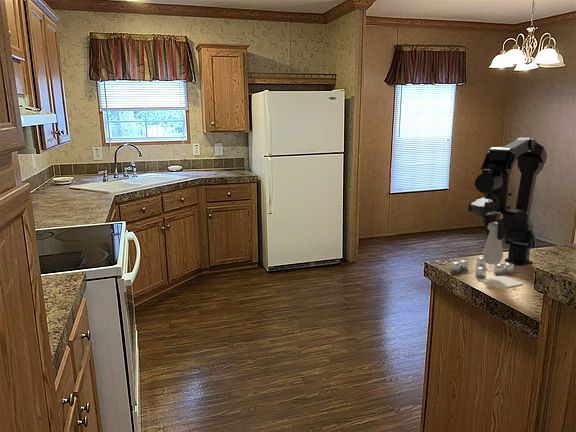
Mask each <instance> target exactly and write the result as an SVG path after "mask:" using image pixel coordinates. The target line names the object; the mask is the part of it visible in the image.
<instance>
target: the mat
mask: <svg viewBox="0 0 576 432" xmlns="http://www.w3.org/2000/svg"><path fill="white" fill-rule="evenodd" d="M479 281H480V282H482V283H484V284H487V285H488V286H489V285H490V286H491V287H494V288H497V289H498V290H503V289H504V290H505V289H508V288H514V287H518V286H522V285H524V283H523V282H520V281H519V280H515V279H513V278H510V277H508V276H505V275H504V274H503V275H497V276H492V277H486V278H483V279H482V278H479Z"/></svg>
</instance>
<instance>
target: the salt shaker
mask: <svg viewBox="0 0 576 432" xmlns="http://www.w3.org/2000/svg"><path fill="white" fill-rule="evenodd" d="M488 230H490V231H489V235H487V238H486V243H485V246H484V249H483V252H482V257H484V259H485V262H486V264H489V265H495V264H499V263H501V261H502V259H503V258H504V253H503V243H502V242H503V241H502V239H501V240H498V223H497V221H495V222H490V223H489V224H488Z"/></svg>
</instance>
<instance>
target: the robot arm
mask: <svg viewBox="0 0 576 432" xmlns="http://www.w3.org/2000/svg"><path fill="white" fill-rule="evenodd" d="M546 151H547V150H546V149H545V147H544V146H543V145H542V144H540V143H538V142H537V141H536V138H533V137H522V136H521V137H518V138H516V140H514V141H512V142H510V143H508V144H506V145H505V146H492V147H491V148H489V149H488V151H487V152H486V154H485V157H484V160H483V162H482V165H481V168H480V170H481V171H482V172H481V174H479V175H477V177H476V178H475V180H474V186H475V189H476V190H477V191H478V192H480V193H481V194H482V193H483V197H481V198H478V199H476V200H475V201H472V202H470V203H469V204H468V208H467V209H468V210H467V211H468V212H471V213H472V214H474V215H475V214H476V216H478V217H479V218H480V219H481V221H482V222H483V225H484V228H485V231H486V235H487V236H488V235H489V231H490V230H488V224H489V223H490V222H497V223H498V240H501V241H502V239H503V238H504V244H505V245H509V247H508V248H509V249H508V253H507V254H508V255H507V257H506V258H504V261H505V262H510V263H513V264H514V265H518V266H522V265H523V266H524V265H527V264H532V263H533V262H534V261H532V260H530V253H531V249H535V248H536V245H537V237H536V235H535V233H534V231H533V230H534V225H533V223H532V221H531V219H530V216H531V210H532V203H533V199H534V194H535V193H534V192H535V186H536V181H537V176H538V175H539V174H540V172H542V170H543V169H544V166H545V163H546V162H547V158H548V154H547V152H546ZM516 163H517V168H518V170H519V172H520V179H519V184H518V190H517V191H518V192H517V197H516V203H515V208H514V209H511V205H509V203H508V202H509V201H508V200H509V197H510V196H511V197H512V192H509V190H510V189H509V188H510V178H511V173H512V170H513V167H514V166H515V164H516ZM497 215H499V216H500V217H499V218H497V217H498V216H497Z"/></svg>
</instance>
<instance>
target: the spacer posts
mask: <svg viewBox="0 0 576 432" xmlns="http://www.w3.org/2000/svg"><path fill="white" fill-rule="evenodd" d="M475 265H476V267H475V278H477V279H486V278H487V277H486V275H487V268H486V267H487V263H486V262H485V259H484V257H483V256H476V264H475ZM514 269H515V264H514V263H511V262H508V261H505V262H503V263H501V262H500V263H499V264H494V269H493V273H494V275H497V276H501V275H503V276H504V275H505V274H507V275H513V274H514ZM468 270H469V261H468V260H467V259H459V260H458V261H451V262H450V273H454V274H460V273H461V272H467V271H468Z"/></svg>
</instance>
